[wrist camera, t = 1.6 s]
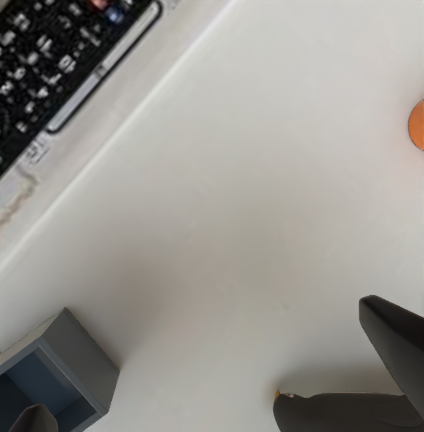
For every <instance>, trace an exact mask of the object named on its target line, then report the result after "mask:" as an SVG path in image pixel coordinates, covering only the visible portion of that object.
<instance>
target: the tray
mask: <svg viewBox="0 0 424 432" xmlns="http://www.w3.org/2000/svg"><path fill="white" fill-rule="evenodd" d="M119 374H120V371H119V370H118V368H117V367H116V366H115V365H114V364H113V363H112V361H111V360H110V359H109V358H108V357H107V355H106V354H105V353H104V352H103V351H102V350H101V348H100V347H99V346H98V345H97V344H96V343H95V341H94V340H93V339H92V338H91V337H90V336H89V334H88V333H87V332H86V331H85V330H84V328H83V327H82V326H81V325H80V324H79V323H78V321H77V320H76V319H75V318H74V317H73V316H72V314H71V313H70V312H69V311H68V310H67V308H66V307H65V308H63V309H62V310H60V311H59V312H58V313H56V314H55V315H54V316H52V317H51V318H49V319H48V320H47V321H45V322H44V323H43V324H41V325H40V326H38V327H37V328H36V329H34V330H33V331H32V332H30V333H29V334H27V335H26V336H25V337H23V338H22V339H20V340H19V341H18V342H16V343H15V344H14V345H12V346H11V347H9V348H8V349H7V350H5V351H4V352H3V353H1V354H0V432H8V431H9V430H10V429H11V427H12V426H13V424H14V423H15V422H16V420H17V419H18V418H19V416H20V415H21V413H22V412H23V411H24V410H25V409H26V408H28V407H30V406H33V405H36V404H40V403H42V404H44V405H45V406H46V407H47V409H48V410H49V411H50V413H51V414H52V415H53V416H54V418H55V419H56V421H57V424H58V432H83V431H84V430H85V429H87V428H88V427H89V426H91V425H92V424H93V423H95V422H96V421H98V420H99V419H100V418H102V417H103V416H104V415H106V414H107V413H108V412H109V408H110V405H111V401H112V398H113V394H114V391H115V387H116V384H117V380H118V376H119Z"/></svg>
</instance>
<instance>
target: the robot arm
mask: <svg viewBox="0 0 424 432" xmlns="http://www.w3.org/2000/svg"><path fill="white" fill-rule="evenodd" d="M359 320H360V324H361V326H362V328H363V330H364V331H365V333H366V335H367V336H368V338H369V340H370V341H371V343H372V345H373V346H374V348H375V350H376V351H377V353H378V355H379V356H380V358H381V360H382V361H383V363H384V365H385V366H386V368H387V370H388V371H389V373H390V374H391V376H392V377H393V379H394V380H395V382H396V383H397V384H398V386H399V387H400V388H401V390H402V391H403V392H404V394H405V395H406V396H407V398H408V399H409V400H410V402H411V403H412V405H413V406H414V407H415V409H416V410H417V411H418V413H419V414H420V415H421V417H422V418H423V419H424V318H423V317H421V316H419V315H417V314H415V313H413V312H410V311H408V310H406V309H404V308H402V307H400V306H398V305H395V304H393V303H391V302H389V301H387V300H385V299H383V298H380V297H378V296H376V295H369V296H366V297H363V298H361V299H360V300H359ZM8 432H58V424H57V421H56V419H55V418H54V416H53V415H52V414H51V413H50V411H49V410H48V409H47V407H46V406H45V405H44V404H42V403H40V404H36V405H33V406H30V407H28V408H26V409H25V410H24V411H23V412H22V413H21V415H20V416H19V418H18V419H17V420H16V422H15V423H14V424H13V426H12V427H11V429H10V430H9V431H8Z"/></svg>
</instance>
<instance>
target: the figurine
mask: <svg viewBox="0 0 424 432" xmlns="http://www.w3.org/2000/svg"><path fill="white" fill-rule="evenodd" d="M273 412H274V417H275V420H276V422H277V425H278V427H279V429H280V431H281V432H424V419H423V418H422V417H421V415H420V414H419V413H418V411H417V410H416V409H415V407H414V406H413V405H412V403H411V402H410V400H409V399H408V398H407V396H406V395H403V396H396V395H389V394H380V393H368V392H328V393H322V394H318V395H315V396H312V397H310V398H303V397H301V396H298V395H296V394H291V393H286V394H280V393H279V391H277V392H276V394H275V400H274V406H273Z"/></svg>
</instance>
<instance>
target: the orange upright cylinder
mask: <svg viewBox="0 0 424 432" xmlns="http://www.w3.org/2000/svg"><path fill="white" fill-rule="evenodd" d="M409 133H410V137H411V139H412V141H413V142H414V144H415V145H416V146H417V147H418V148H420V149H421V150H423V151H424V100H422V101H421V102H420V103H419V104H418V105H417V106H416V107H415V108H414V110H413V111H412V113H411V116H410V119H409Z"/></svg>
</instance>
